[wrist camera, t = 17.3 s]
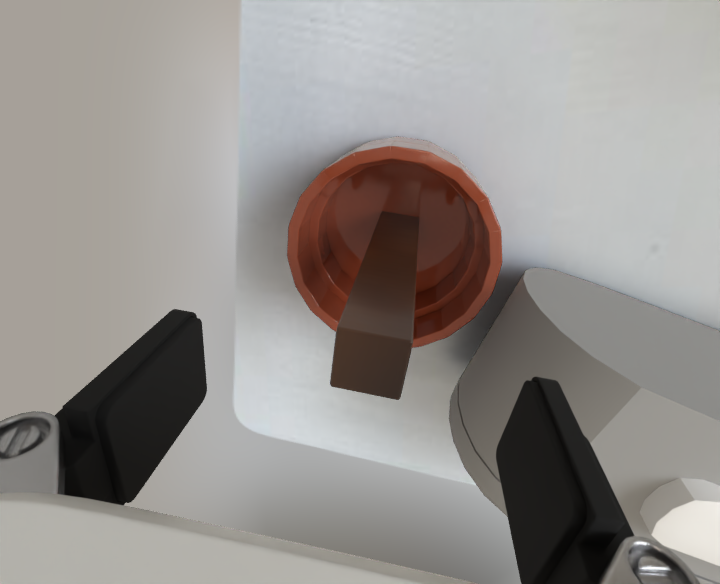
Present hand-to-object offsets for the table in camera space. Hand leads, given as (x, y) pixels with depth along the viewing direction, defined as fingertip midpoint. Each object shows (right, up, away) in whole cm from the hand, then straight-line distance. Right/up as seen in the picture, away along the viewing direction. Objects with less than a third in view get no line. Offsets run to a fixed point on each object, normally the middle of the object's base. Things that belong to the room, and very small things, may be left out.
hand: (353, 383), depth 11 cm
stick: (+3, +6, +14) cm, 15 cm away
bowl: (+3, +7, +14) cm, 16 cm away
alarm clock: (+17, -2, +16) cm, 24 cm away
